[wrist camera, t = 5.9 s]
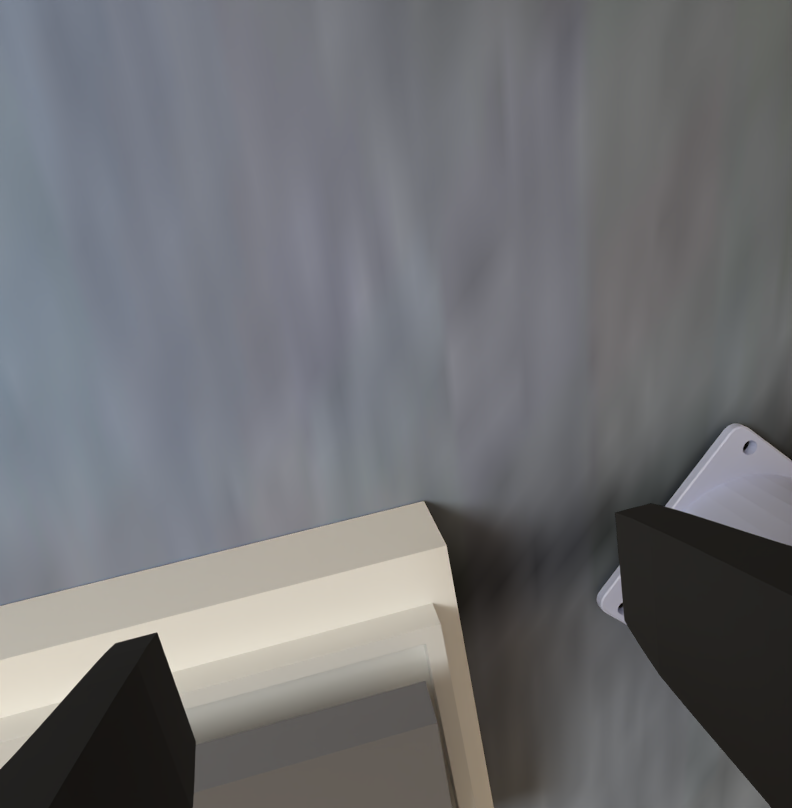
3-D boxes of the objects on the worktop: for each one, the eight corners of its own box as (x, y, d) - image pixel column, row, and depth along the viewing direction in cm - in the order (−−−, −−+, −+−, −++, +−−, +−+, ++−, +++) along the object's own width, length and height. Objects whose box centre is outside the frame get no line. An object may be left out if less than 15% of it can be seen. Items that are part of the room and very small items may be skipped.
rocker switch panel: (424, 501, 21) (455, 563, 17) (476, 781, 25) (512, 884, 21) (-432, 713, 18) (-619, 843, 14) (-230, 993, 22) (-337, 1156, 18)
